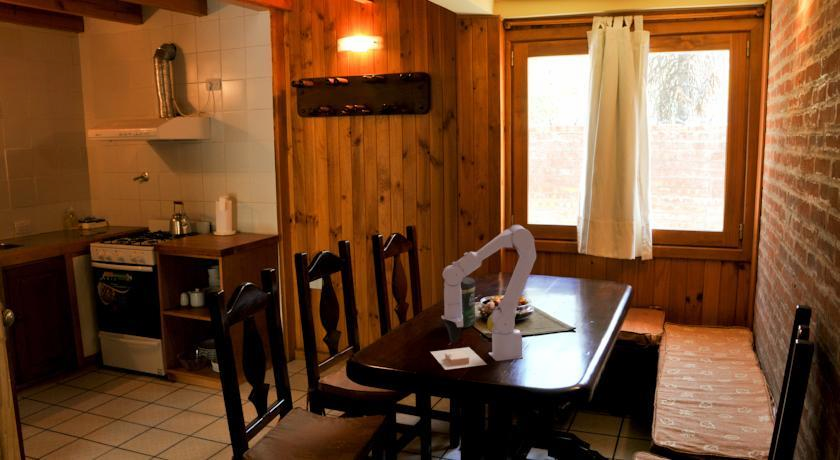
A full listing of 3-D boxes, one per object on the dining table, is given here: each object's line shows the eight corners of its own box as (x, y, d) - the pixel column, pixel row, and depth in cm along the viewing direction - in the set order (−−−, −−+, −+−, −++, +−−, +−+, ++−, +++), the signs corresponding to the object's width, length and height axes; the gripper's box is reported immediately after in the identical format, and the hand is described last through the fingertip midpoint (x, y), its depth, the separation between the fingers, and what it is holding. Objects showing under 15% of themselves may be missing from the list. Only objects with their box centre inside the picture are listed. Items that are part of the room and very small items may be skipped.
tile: (462, 350, 224) (469, 357, 217) (462, 356, 224) (469, 363, 217) (445, 352, 222) (451, 359, 216) (445, 358, 223) (451, 365, 216)
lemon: (501, 331, 251) (500, 310, 250) (503, 336, 245) (503, 314, 244) (486, 332, 251) (486, 311, 249) (488, 336, 245) (488, 315, 244)
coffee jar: (467, 329, 255) (466, 281, 252) (449, 327, 259) (447, 280, 256) (479, 323, 263) (478, 276, 260) (461, 320, 267) (460, 274, 264)
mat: (469, 348, 233) (469, 347, 233) (486, 365, 216) (486, 364, 216) (430, 353, 230) (430, 351, 230) (445, 370, 212) (445, 369, 212)
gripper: (435, 298, 226) (436, 337, 228) (447, 309, 212) (449, 350, 214) (455, 296, 227) (456, 334, 229) (469, 306, 213) (470, 347, 215)
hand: (454, 342), depth 222 cm, fingers closed
